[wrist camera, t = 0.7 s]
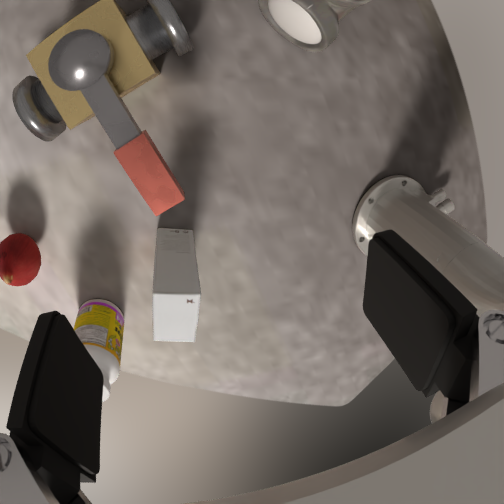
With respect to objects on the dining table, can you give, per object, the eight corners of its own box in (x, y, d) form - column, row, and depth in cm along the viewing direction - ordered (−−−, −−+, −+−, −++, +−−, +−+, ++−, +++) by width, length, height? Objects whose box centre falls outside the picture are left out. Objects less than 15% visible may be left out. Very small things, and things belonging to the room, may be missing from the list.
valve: (158, -6, 23) (153, -29, 16) (193, 56, 27) (199, 49, 21) (31, 79, 24) (-5, 84, 17) (66, 137, 28) (37, 156, 21)
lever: (49, 56, 17) (38, 55, 16) (98, 21, 17) (91, 16, 15) (147, 211, 26) (145, 223, 24) (194, 184, 26) (196, 193, 24)
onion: (10, 259, 33) (-13, 297, 26) (8, 218, 30) (-21, 253, 24) (49, 267, 35) (29, 307, 28) (49, 226, 32) (25, 263, 26)
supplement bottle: (122, 336, 43) (116, 411, 32) (78, 328, 40) (63, 401, 30) (127, 301, 40) (120, 379, 29) (79, 291, 38) (58, 367, 27)
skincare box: (156, 226, 36) (152, 291, 26) (193, 228, 37) (203, 293, 27) (154, 271, 39) (152, 342, 29) (188, 272, 40) (197, 343, 30)
